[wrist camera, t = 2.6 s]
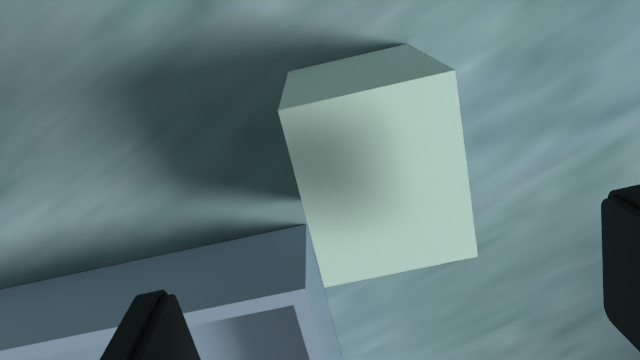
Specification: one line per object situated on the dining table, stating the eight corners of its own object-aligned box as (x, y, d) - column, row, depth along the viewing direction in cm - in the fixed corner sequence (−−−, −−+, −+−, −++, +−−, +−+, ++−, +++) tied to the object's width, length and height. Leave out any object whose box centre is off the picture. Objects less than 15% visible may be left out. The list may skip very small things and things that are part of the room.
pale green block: (288, 71, 20) (277, 110, 14) (407, 43, 20) (455, 70, 13) (320, 200, 22) (324, 287, 16) (428, 177, 22) (478, 256, 15)
